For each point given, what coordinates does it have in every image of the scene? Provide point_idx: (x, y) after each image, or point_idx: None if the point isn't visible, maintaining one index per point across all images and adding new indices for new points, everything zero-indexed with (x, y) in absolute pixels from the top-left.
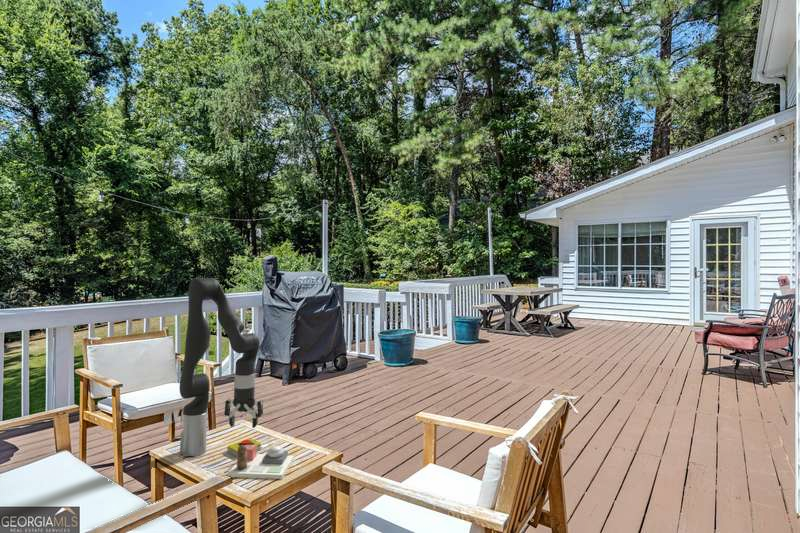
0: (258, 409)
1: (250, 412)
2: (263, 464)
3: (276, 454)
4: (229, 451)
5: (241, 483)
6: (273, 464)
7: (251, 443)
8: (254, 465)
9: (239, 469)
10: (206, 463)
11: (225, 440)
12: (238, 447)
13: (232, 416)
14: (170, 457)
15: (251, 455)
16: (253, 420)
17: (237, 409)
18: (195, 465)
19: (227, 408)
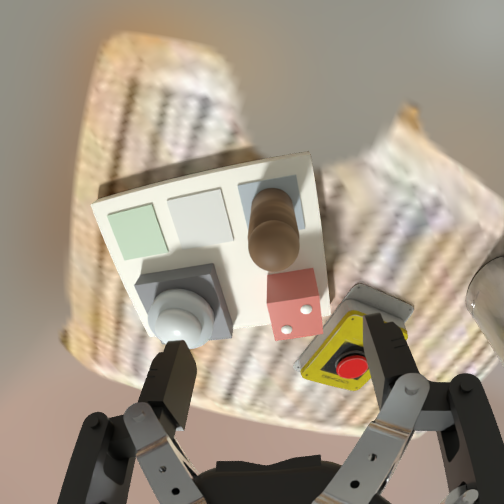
0: (85, 475)
1: (157, 453)
2: (205, 259)
3: (158, 300)
4: (394, 319)
5: (216, 117)
6: (169, 267)
7: (334, 369)
8: (232, 240)
9: (271, 188)
10: (438, 233)
11: (430, 371)
12: (293, 242)
13: (391, 392)
14: None
15: (272, 287)
16: (158, 386)
17: (334, 477)
18: (465, 211)
19: (473, 448)
